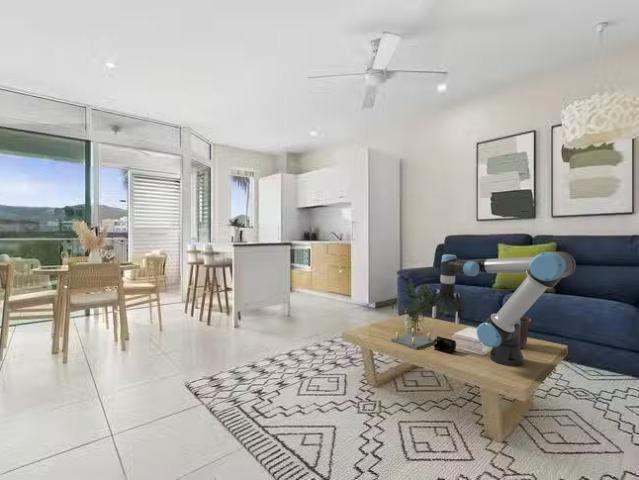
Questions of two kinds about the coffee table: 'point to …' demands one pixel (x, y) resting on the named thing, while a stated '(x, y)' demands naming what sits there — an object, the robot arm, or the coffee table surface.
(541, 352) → the coffee table surface
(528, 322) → the plant pot
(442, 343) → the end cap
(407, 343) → the standoff plate
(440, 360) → the coffee table surface
